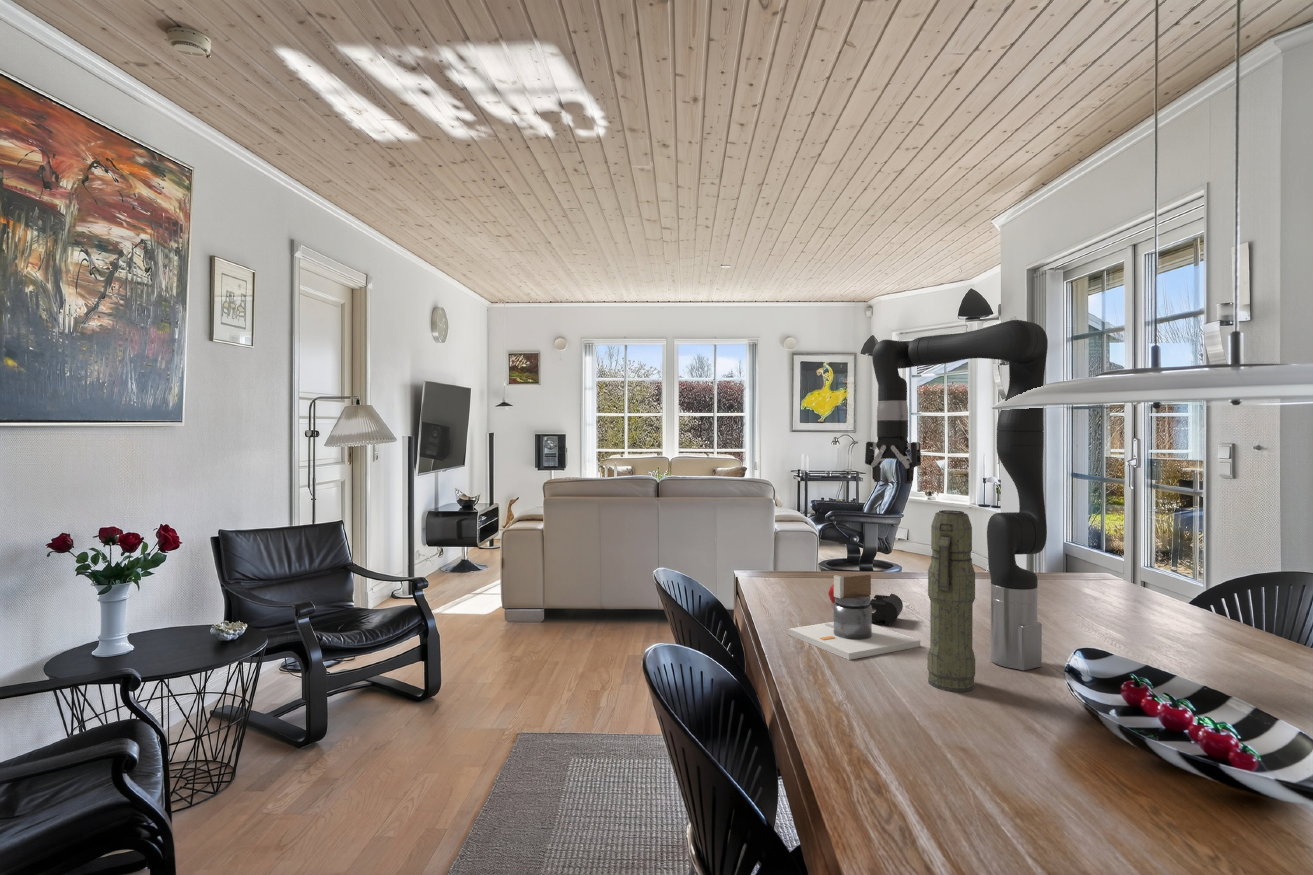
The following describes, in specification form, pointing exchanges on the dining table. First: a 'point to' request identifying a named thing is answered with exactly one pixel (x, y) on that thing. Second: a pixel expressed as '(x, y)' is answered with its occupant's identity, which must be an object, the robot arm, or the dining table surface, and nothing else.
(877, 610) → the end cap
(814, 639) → the lock base
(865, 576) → the lock lever handle
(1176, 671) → the dining table surface
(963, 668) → the thermos
